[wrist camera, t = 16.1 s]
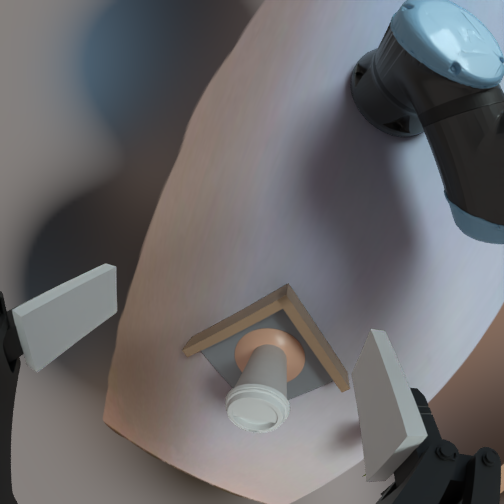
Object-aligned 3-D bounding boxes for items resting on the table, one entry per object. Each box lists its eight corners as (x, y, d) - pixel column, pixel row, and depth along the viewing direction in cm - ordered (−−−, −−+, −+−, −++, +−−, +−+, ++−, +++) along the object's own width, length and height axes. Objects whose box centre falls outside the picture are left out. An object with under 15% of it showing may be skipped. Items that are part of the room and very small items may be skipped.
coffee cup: (235, 364, 50) (212, 419, 36) (257, 328, 47) (238, 382, 33) (278, 385, 50) (268, 443, 35) (305, 351, 47) (302, 410, 32)
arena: (288, 283, 45) (286, 294, 40) (347, 372, 47) (349, 388, 42) (191, 336, 51) (181, 350, 46) (254, 409, 53) (250, 425, 49)
